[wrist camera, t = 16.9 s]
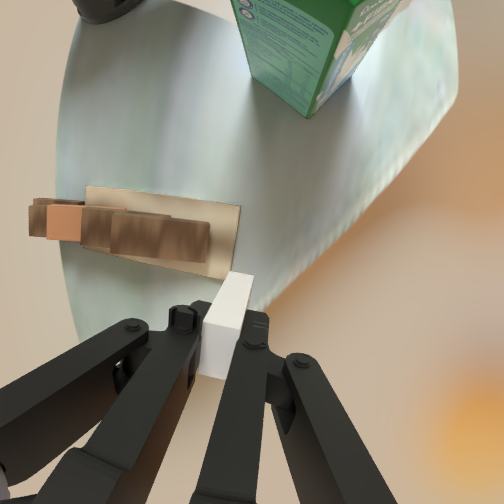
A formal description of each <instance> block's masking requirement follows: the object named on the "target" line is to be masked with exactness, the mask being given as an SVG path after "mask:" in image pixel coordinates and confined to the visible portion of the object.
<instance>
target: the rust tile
mask: <svg viewBox="0 0 504 504" xmlns="http://www.w3.org/2000/svg"><path fill="white" fill-rule="evenodd" d="M84 207H87V206H84V205H62V204H51V205H47V239H51V240H64V241H78V242H80V240H81V218H82V208H84ZM89 207H99V208H109V209H119V210H126V208H119V207H102V206H89Z"/></svg>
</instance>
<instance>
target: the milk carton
mask: <svg viewBox="0 0 504 504" xmlns="http://www.w3.org/2000/svg"><path fill="white" fill-rule="evenodd" d="M230 1H231V4H232V8H233V11H234V14H235V17H236V21H237V25H238V28H239V32H240V35H241V39H242V43H243V46H244V50H245V54H246V57H247V61H248V65H249V69H250V73H251V76H252V77H253V78H255V79H256V80H258V81H259V82H260V83H262V84H263V85H265V86H266V87H267V88H269V89H270V90H271V91H273V92H274V93H275V94H277V95H278V96H279V97H281V98H282V99H283V100H284V101H286V102H287V103H288V104H290V105H291V106H292V107H293V108H295V109H296V110H297V111H298V112H300V113H301V114H302V115H303V116H304V117H306V118H307V119H309V118H310V117H311V116H312V115H313V114H314V113H315V112H316V111H317V110H318V109H319V108H320V107H321V106H322V105H323V104H324V103H325V102H326V101H327V100H328V99H329V98H330V97H331V96H332V95H333V94H334V93H335V92H336V91H337V90H338V89H339V88H340V87H341V86H342V85H343V84H344V83H345V82H346V81H347V80H348V79H349V78H350V77H351V76H352V75H353V73H354V72H355V70H356V68H357V67H358V65H359V64H360V62H361V61H362V59H363V58H364V56H365V55H366V53H367V51H368V50H369V48H370V47H371V45H372V44H373V42H374V41H375V39H376V38H377V36H378V35H379V33H380V32H381V30H382V28H383V27H384V25H385V24H386V22H387V21H388V19H389V18H390V16H391V15H392V13H393V12H394V10H395V9H396V7H397V6H398V4H399V3H400V1H401V0H230Z"/></svg>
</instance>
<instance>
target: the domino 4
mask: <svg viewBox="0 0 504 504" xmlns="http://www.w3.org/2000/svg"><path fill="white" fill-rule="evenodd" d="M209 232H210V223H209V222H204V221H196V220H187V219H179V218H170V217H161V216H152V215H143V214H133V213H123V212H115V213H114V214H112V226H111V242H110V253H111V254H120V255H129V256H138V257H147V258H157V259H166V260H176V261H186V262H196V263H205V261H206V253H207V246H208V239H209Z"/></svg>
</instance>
